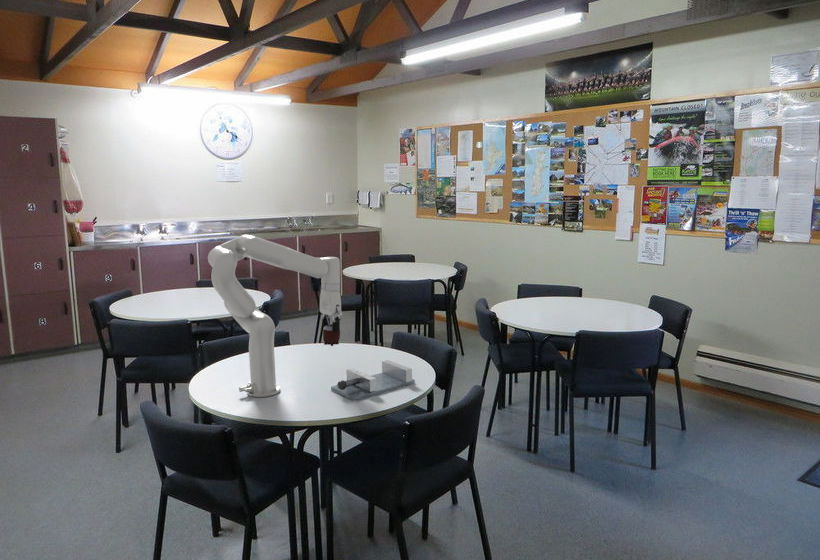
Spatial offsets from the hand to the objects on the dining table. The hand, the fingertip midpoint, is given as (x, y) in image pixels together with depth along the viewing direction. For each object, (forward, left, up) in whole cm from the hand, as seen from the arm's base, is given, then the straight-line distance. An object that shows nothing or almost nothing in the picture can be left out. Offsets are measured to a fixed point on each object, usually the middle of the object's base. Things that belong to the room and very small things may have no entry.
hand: (331, 329), depth 240 cm
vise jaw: (-4, -20, -19) cm, 28 cm away
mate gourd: (0, 0, -7) cm, 7 cm away
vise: (+7, -20, -21) cm, 30 cm away
